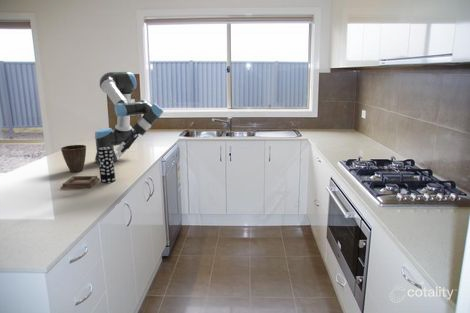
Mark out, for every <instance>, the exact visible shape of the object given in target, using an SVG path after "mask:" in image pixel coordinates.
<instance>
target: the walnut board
mask: <svg viewBox="0 0 470 313" xmlns="http://www.w3.org/2000/svg"><path fill="white" fill-rule="evenodd" d="M99 181H101V179H100V177H98V175H76V176H75V175H74V176H71V177H70V178H69V179H67V180H66V181H65V182H63V183H62V186H60V190H85V189H91V188H93V187H94V186H95V185H96V184H97V183H98V182H99Z"/></svg>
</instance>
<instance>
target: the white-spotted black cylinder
mask: <svg viewBox="0 0 470 313" xmlns="http://www.w3.org/2000/svg"><path fill="white" fill-rule="evenodd" d="M97 152H98V161H99V163H98V167H99V178H100V183H101V184H112V183H114V182H116V170H115V162H114V160H113V149H112V147H101V148H98V149H97V148H96V153H97Z"/></svg>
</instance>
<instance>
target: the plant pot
mask: <svg viewBox="0 0 470 313" xmlns="http://www.w3.org/2000/svg"><path fill="white" fill-rule="evenodd" d="M60 150H61V154H62V157H63V159H64V162H65V163H66V165H67V166H66V167H67V168H68V170H69V172H71V173H79V172H82V171H83V170H84V166H85V162H86V154H87V146H86V145H85V144H72V145H71V144H70V145H65V146H62V147H60Z"/></svg>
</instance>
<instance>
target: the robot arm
mask: <svg viewBox="0 0 470 313" xmlns="http://www.w3.org/2000/svg"><path fill="white" fill-rule="evenodd" d="M137 86H138V85H137V79H136V76H135V74H134V73H133V72H130V71H112V72H111V71H110V72H107V73H104V74H103V75H102V76H101V77H100V79H99V88H100V89H101V91H102V92H104V94H106V95H107V97H108V98H109V99H110V101H111V102H112V103H113V105H114V112H115V115H116V117H117V118H116V119H117V124H116V125H115V126H114V129H112V127H104V128H100V129H98V130H96V131H95V132H94V138H95V148H96V150H97V149H98V148H101V147H112V149H113V160H114V163H115V162H118V158H119V159H120V158H121V157H122V156H123V155H124V153H125V152H126V151H127V150H129V149H130V147H131V146H132V145H133V144H134V142H135V141H136V140H137V139H138V138H139V135H141V136H144V135H145V134H146V132H147V131H149V129H151V128H152V125H154V124H155V123H156V121H158V119H159V118H160V117H161V115H162V114H163V113H164V110H163V109H162V108H161V107H160V106H159V105H157V103H153V104H152V103H151V102H150V101H148V100H147V99H143V98H142V99H140V100H139V101H137V102H135V101H134V102H131V95H132V94H134V90H136V89H137ZM140 115H142V116H141V117H140V118H139V119H138V120H137V122H135V124H134V125H132V126H131V116H140ZM115 146H118V147H117V148H116V149H115V148H114V147H115ZM116 151H117V153H116ZM94 163H96V164H99V161H98V152H97V151H96V153H95V157H94Z"/></svg>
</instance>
